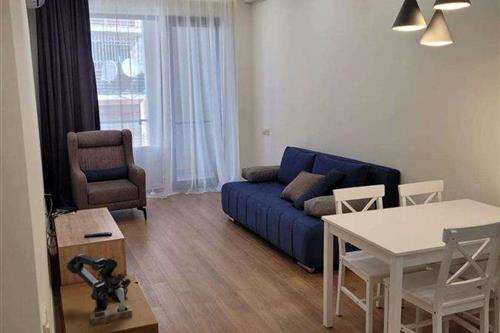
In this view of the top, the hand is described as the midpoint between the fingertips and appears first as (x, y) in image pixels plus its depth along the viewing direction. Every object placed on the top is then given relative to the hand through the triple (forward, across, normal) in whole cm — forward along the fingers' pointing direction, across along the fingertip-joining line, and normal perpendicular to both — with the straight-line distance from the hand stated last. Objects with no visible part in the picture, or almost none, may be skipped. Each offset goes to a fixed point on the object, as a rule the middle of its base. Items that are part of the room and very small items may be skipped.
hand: (122, 301), depth 250 cm
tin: (-11, +13, +23) cm, 29 cm away
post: (+4, 0, +6) cm, 7 cm away
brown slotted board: (+3, -5, +9) cm, 11 cm away
